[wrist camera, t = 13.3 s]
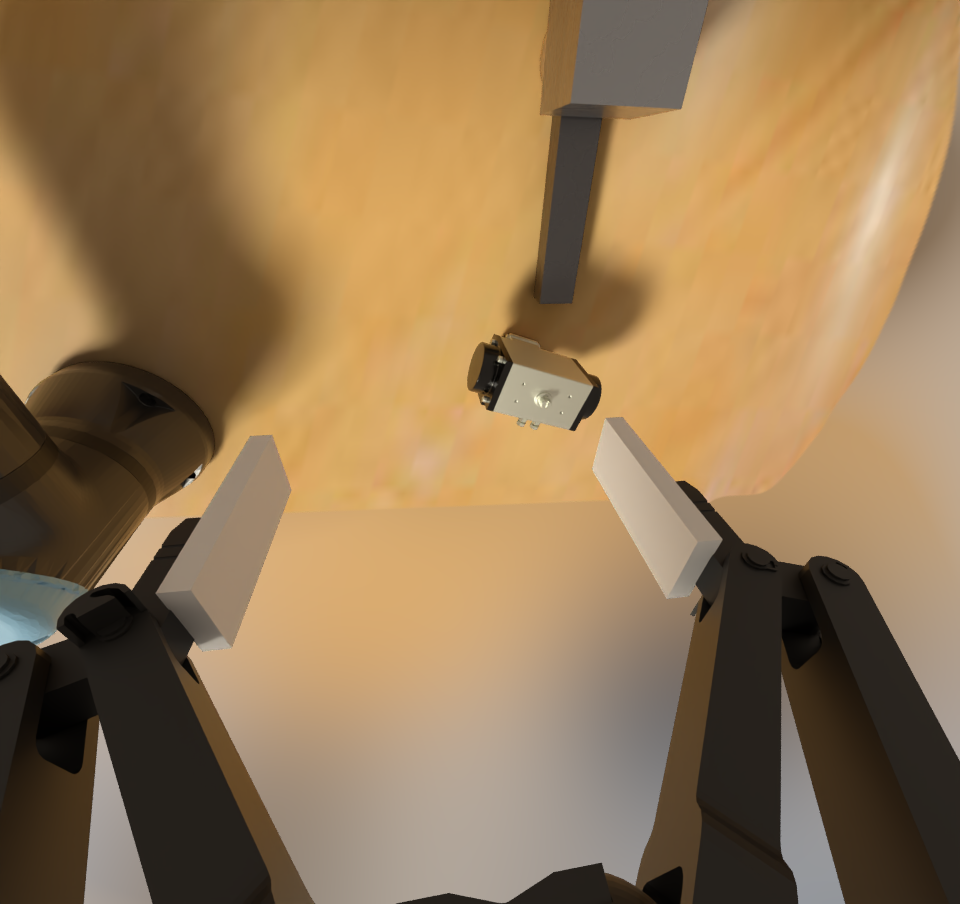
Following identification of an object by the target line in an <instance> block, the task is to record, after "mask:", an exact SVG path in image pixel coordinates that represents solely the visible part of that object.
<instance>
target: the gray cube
mask: <svg viewBox="0 0 960 904" xmlns="http://www.w3.org/2000/svg"><path fill="white" fill-rule="evenodd" d="M708 1H709V0H550V7H549V18H548V29H547V40H546V52H545V63H544V74H543V85H542V97H541V108H540V115H550V116H571V117H591V118H612V119H635V118H640V117H645V116H650V115H654V114H659V113H664V112H669V111H674V110H679V109H681V108H682V104H683V100H684V96H685V92H686V88H687V84H688V80H689V76H690V72H691V68H692V64H693V60H694V56H695V52H696V48H697V44H698V40H699V36H700V33H701V29H702V25H703V21H704V17H705V13H706V9H707V5H708Z"/></svg>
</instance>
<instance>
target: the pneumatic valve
mask: <svg viewBox="0 0 960 904" xmlns="http://www.w3.org/2000/svg"><path fill="white" fill-rule="evenodd" d="M467 386H468V389H469V390H470V391H473V392H476V393H478V395H479V399H480V403H481V405H485V407H486V410H490V411H494V412H498V413H502V414H506V415H510V416H514V417H518V418H519V419H518V421H517V424H518V425H519V426H521V427H524V425H525V424H526V421H527V420H531V421H532V423H531V424H530V427H531V428H532V429H534V430H537V429H538V427H539V425H540V423H543V424H547V425H551V426H555V427H559V428H563V429H567V430H571V431H575V430H576V428H577V426H578V425H579V423H580V421H581V419H586V418H588V417H589V416H591V415H592V413H593V412H594V411H595V409H596V408H597V406H598V403H599V401H600V397H601V382H600V380H599V378H598V377H597V376H594V375H591V374H588V373H587V372H586V371H585V370H584V369H583V367H582V366H581V365H580V364H579V363H578V361H577V360H576V359H573V358H569V357H566V356H563V355H560V354H556V353H553V352H550V351H547V350H544V349H540V344H538V343H537V341H535V340H531V339H528V338H525V337H522V336H519V335H516V334H512V333H509V334H506V336H505V337H502V336H498V335H495V334H494V335H493V338H492V339H491V341H490V344H488V343H484V342H481V343H480V344H479V345H478V346H477V348H476V350H475V352H474V354H473V357H472V360H471V363H470V367H469V372H468V379H467Z"/></svg>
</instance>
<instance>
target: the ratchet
mask: <svg viewBox="0 0 960 904" xmlns="http://www.w3.org/2000/svg"><path fill="white" fill-rule="evenodd" d="M546 40H547V32H546V35H545V37H544V41H543V44H542V49H541V55H540V74H541V80H542V84H543V74H544V63H545V52H546ZM601 122H602V118H591V117H571V116H552V126H551V136H550V145H549V155H548V164H547V174H546V184H545V193H544V203H543V213H542V222H541V232H540V241H539V251H538V261H537V270H536V280H535V289H534V298H535V299H536V300H537V301H538V302H539V303H540V304H565V303H572V301H573V294H574V288H575V282H576V276H577V270H578V264H579V257H580V251H581V245H582V239H583V233H584V227H585V220H586V214H587V208H588V202H589V196H590V190H591V183H592V177H593V171H594V165H595V159H596V153H597V146H598V140H599V134H600V128H601Z"/></svg>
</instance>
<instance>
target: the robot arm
mask: <svg viewBox="0 0 960 904" xmlns="http://www.w3.org/2000/svg"><path fill="white" fill-rule="evenodd" d="M214 446H215V441H214V435H213V431H212V428H211V426H210V424H209V422H208V420H207V418H206V417H205V415H204V414H203V412H202V411H201V410H200V408H199V407H198V406H197V405H196V404H195V403H194V402H193V401H192V400H191V399H190V398H189V397H188V396H187V395H185V394H184V393H183V392H182V391H180V390H179V389H178V388H176V387H175V386H173V385H172V384H170V383H168V382H167V381H165V380H163V379H161V378H159V377H157V376H155V375H153V374H151V373H148V372H146V371H143V370H140V369H137V368H134V367H131V366H127V365H122V364H117V363H110V362H84V363H78V364H74V365H70V366H68V367H65V368H63V369H61V370H59V371H57V372H56V373H54V374H52V375H51V376H49V377H47V378H46V379H44V380H43V381H41V382H40V383H39V384H38V385H36V386H35V387H34V389H33V390H32V391H31V392H30V394H29V396H28V398H27V400H26V403H25V405H24V404H23V402H22V401H21V400H20V399H19V397H18V396H17V395H16V394H15V392H14V391H13V390H12V389H11V387H10V386H9V385H8V384H7V383H6V381H5V380H4V379H3V377H2V376H1V375H0V904H84V892H85V881H86V870H87V858H88V846H89V833H90V823H91V812H92V811H91V810H92V800H93V788H94V777H95V765H96V754H97V753H96V752H97V741H98V730H99V719H100V723H101V726H102V730H103V733H104V737H105V740H106V744H107V747H108V751H109V754H110V758H111V761H112V764H113V768H114V771H115V775H116V778H117V782H118V785H119V789H120V792H121V796H122V799H123V802H124V806H125V809H126V813H127V816H128V820H129V823H130V826H131V830H132V834H133V837H134V840H135V844H136V847H137V851H138V854H139V858H140V861H141V865H142V868H143V872H144V875H145V878H146V882H147V885H148V889H149V892H150V896H151V899H152V903H153V904H315V903H314V901H313V900H312V898H311V897H310V895H309V893H308V891H307V889H306V887H305V886H304V884H303V881H302V880H301V878H300V876H299V874H298V872H297V870H296V868H295V866H294V864H293V862H292V860H291V858H290V856H289V854H288V852H287V850H286V848H285V846H284V844H283V842H282V840H281V838H280V836H279V834H278V832H277V830H276V828H275V826H274V824H273V822H272V820H271V818H270V816H269V814H268V812H267V810H266V808H265V806H264V804H263V802H262V800H261V798H260V796H259V794H258V792H257V790H256V788H255V786H254V784H253V782H252V780H251V778H250V776H249V774H248V772H247V770H246V768H245V766H244V764H243V762H242V760H241V758H240V756H239V754H238V752H237V750H236V748H235V746H234V744H233V742H232V740H231V738H230V737H229V734H228V732H227V730H226V728H225V726H224V724H223V722H222V720H221V718H220V717H219V714H218V712H217V710H216V708H215V706H214V704H213V702H212V700H211V698H210V696H209V694H208V692H207V691H206V688H205V686H204V684H203V682H202V680H201V678H200V676H199V675H198V673H197V670H196V668H195V667H194V664H193V662H192V661H191V659H190V658H189V657H188V656H187V655H188V652H189V650H190V648H191V646H192V643H193V642H195V643H196V644H197V645H198V647H199V648H200V649H201V650H202V651H210V650H220V649H228V648H232V646H233V643H234V641H235V638H236V636H237V633H238V630H239V628H240V625H241V622H242V619H243V617H244V614H245V612H246V609H247V606H248V604H249V601H250V598H251V596H252V593H253V591H254V588H255V585H256V582H257V580H258V577H259V575H260V572H261V569H262V567H263V564H264V561H265V559H266V556H267V553H268V551H269V548H270V545H271V543H272V540H273V537H274V535H275V532H276V529H277V527H278V524H279V522H280V519H281V516H282V514H283V511H284V508H285V506H286V503H287V500H288V498H289V495H290V492H291V487H290V484H289V481H288V479H287V476H286V473H285V470H284V467H283V464H282V462H281V459H280V456H279V453H278V450H277V447H276V445H275V442H274V439H273V436H272V435H262V436H250V437H249V439H248V441H247V442H246V444H245V446H244V447H243V449H242V451H241V452H240V454H239V456H238V457H237V459H236V461H235V462H234V464H233V466H232V467H231V469H230V471H229V472H228V474H227V476H226V477H225V479H224V481H223V482H222V484H221V486H220V487H219V489H218V491H217V492H216V494H215V496H214V497H213V499H212V501H211V502H210V504H209V506H208V507H207V509H206V511H205V512H204V514H203V516H202V517H201V518H187V519H185V520H184V521H183V522H182V523H180V525H178V526H177V527H176V528H175V529H173V530H172V531H171V532H170V534H169V535H168V537H167V538H166V540H165V541H164V543H163V544H162V548H161V549H159V550H158V552H157V553H156V555H155V556H154V560H153V561H151V562H150V564H149V565H148V567H147V568H146V570H145V572H144V573H143V574H142V576H141V578H140V579H139V581H138V582H137V584H136V585H135V587H134V588H133V590H132V591H131V590H130V589H129V588H128V587H127V586H126V585H125V584H118V583H113V584H107V585H102V586H100V587H97V588H95V589H94V587H95V586H96V584H97V583H98V582H99V580H100V579H101V578H102V576H103V575H104V573H105V572H106V571H107V569H108V568H109V566H110V565H111V564H112V562H113V561H114V560H115V558H116V557H117V555H118V554H119V552H120V551H121V550H122V549H123V547H124V546H125V544H126V543H127V542H128V540H129V539H130V538H131V536H132V535H133V533H134V532H135V531H136V529H137V528H138V526H139V525H140V524H141V522H142V521H143V520H144V518H145V517H146V516H147V514H148V513H149V512H150V510H151V509H152V508H153V507H154V506H155V505H157V504H158V503H160V502H162V501H163V500H165V499H167V498H168V497H170V496H171V495H173V494H175V493H176V492H178V491H179V490H181V489H182V488H184V487H186V486H188V485H189V484H191V483H192V482H193V481H194V480H196V479H197V478H198V477H199V476H200V474H201V473H202V472H203V470H204V469H205V467H206V466H207V465H208V463H209V462H210V460H211V458H212V456H213V452H214ZM592 470H593V472H594V474H595V475H596V477H597V479H598V481H599V482H600V484H601V486H602V487H603V489H604V491H605V493H606V494H607V496H608V498H609V500H610V501H611V503H612V505H613V506H614V508H615V510H616V512H617V513H618V515H619V517H620V519H621V520H622V522H623V523H624V525H625V527H626V529H627V530H628V532H629V534H630V536H631V538H632V539H633V541H634V543H635V544H636V546H637V548H638V550H639V551H640V553H641V555H642V556H643V558H644V560H645V562H646V563H647V565H648V567H649V569H650V570H651V572H652V574H653V576H654V577H655V579H656V581H657V582H658V584H659V586H660V587H661V589H662V591H663V593H664V595H665V596H666V598H667V599H670V598H678V597H687V596H689V595H690V594H691V592H692V590H693V589H694V587H695V585H696V586H697V587H698V589H699V590H700V592H701V593H702V596H701V598H700V600H699V601H698V603H697V604H696V606H695V608H694V609H693V611H692V613H691V615H692V616H695V614H696V618H695V623H694V628H693V633H692V638H691V643H690V648H689V653H688V658H687V663H686V668H685V673H684V678H683V683H682V688H681V693H680V698H679V702H678V707H677V712H676V717H675V722H674V728H673V733H672V738H671V742H670V747H669V752H668V757H667V763H666V768H665V773H664V778H663V783H662V787H661V793H660V797H659V802H658V808H657V812H656V818H655V822H654V826H653V830H652V833H651V836H650V838H649V841H648V843H647V845H646V848H645V850H644V853H643V856H642V859H641V863H640V867H639V872H638V876H637V881H636V886H634V885H632V884H631V883H629V882H627V881H625V880H624V879H621V878H619V877H616V876H614V875H611V874H608V873H604V869H603V866H602V863H598V864H593V865H588V866H583V867H578V868H573V869H568V870H563V871H558V872H553V873H552V874H550V875H549V876H547V877H546V878H544V879H543V880H541V881H540V882H538V883H537V884H535V885H534V886H532V887H531V888H529V889H528V890H526V891H524V892H523V893H521V894H520V895H518V896H517V897H515V898H514V899H512V900H511V901H509V902H507V903H495V902H490V901H486V900H481V899H476V898H471V897H465V896H460V895H455V894H450V893H447V894H442V895H437V896H432V897H427V898H422V899H417V900H412V901H407V902H402V903H397V904H798V895H797V885H796V882H795V878H794V875H793V872H792V871H791V869H790V868H789V867H788V865H787V864H786V862H785V861H784V860H783V857H782V854H781V846H780V815H781V814H780V813H781V810H780V809H781V806H780V805H781V800H780V799H781V798H780V797H781V672H782V675H783V679H784V683H785V687H786V690H787V694H788V698H789V701H790V705H791V709H792V712H793V716H794V719H795V723H796V727H797V730H798V734H799V738H800V741H801V745H802V749H803V752H804V755H805V759H806V763H807V766H808V770H809V774H810V778H811V781H812V785H813V788H814V792H815V795H816V799H817V803H818V806H819V810H820V814H821V817H822V821H823V825H824V828H825V832H826V836H827V839H828V843H829V846H830V850H831V854H832V857H833V861H834V864H835V868H836V872H837V875H838V879H839V883H840V886H841V890H842V894H843V897H844V901H845V904H960V761H959V759H958V757H957V755H956V754H955V752H954V750H953V748H952V746H951V744H950V742H949V740H948V738H947V737H946V735H945V733H944V731H943V729H942V727H941V725H940V723H939V722H938V720H937V718H936V716H935V714H934V712H933V710H932V708H931V707H930V705H929V703H928V701H927V699H926V697H925V695H924V694H923V692H922V690H921V688H920V686H919V684H918V682H917V681H916V679H915V677H914V675H913V673H912V671H911V669H910V667H909V666H908V664H907V662H906V660H905V658H904V656H903V654H902V653H901V651H900V649H899V647H898V645H897V643H896V641H895V639H894V638H893V636H892V634H891V632H890V630H889V628H888V626H887V625H886V623H885V621H884V619H883V617H882V615H881V613H880V611H879V610H878V608H877V606H876V604H875V602H874V600H873V598H872V597H871V595H870V593H869V591H868V589H867V587H866V585H865V584H864V582H863V580H862V579H861V578H860V576H859V575H858V574H857V573H856V572H855V571H854V570H852V569H851V568H849V566H847V565H845V564H843V563H842V562H840V561H838V560H835V559H832V558H829V557H824V556H816V557H812V558H811V559H810V560H809V561H808V562H807V564H806V565H805V566H801V565H795V564H790V563H784V562H778V561H777V560H776V559H775V558H774V557H773V556H772V555H771V554H769V553H768V552H767V551H765V550H763V549H761V548H759V547H757V546H754V545H750V544H745V543H743V541H742V540H741V539H740V538H739V537H738V536H737V535H736V533H735V532H734V531H733V530H732V529H731V528H730V526H729V525H728V524H727V523H726V522H725V521H724V519H723V518H722V517H721V516H720V515H719V514H718V513H717V512H715V509H714V508H713V507H712V506H711V504H710V503H707V500H706V499H705V498H704V496H703V495H702V494H701V493H700V492H699V491H698V490H697V489H696V488H694V487H693V486H691V485H690V484H688V483H687V482H685V481H676V482H675V481H674V479H673V478H672V477H671V476H670V474H669V473H668V472H667V471H666V470H665V468H664V467H663V466H662V465H661V463H660V462H659V461H658V460H657V459H656V457H655V456H654V455H653V454H652V452H651V451H650V450H649V449H648V448H647V446H646V445H645V444H644V443H643V441H642V440H641V439H640V438H639V437H638V435H637V434H636V433H635V432H634V430H633V429H632V428H631V427H630V426H629V424H628V423H627V422H626V421H625V419H624V418H623V417H616V418H605V421H604V425H603V429H602V433H601V436H600V440H599V444H598V448H597V452H596V456H595V460H594V464H593V468H592ZM57 630H58V631H60V632H61V633H62V634H63V635H64V636H65V637H67V638H68V639H67V640H65V641H61V642H59V643H56V644H53V645H50V646H47V647H44V648H41V649H40V648H39V647H38V646H36V645H38V644H40V643H42V642H43V641H45V640H46V639H48V638H49V637H50V636H51V635H53V634H54V633H55V632H56V631H57Z"/></svg>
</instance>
